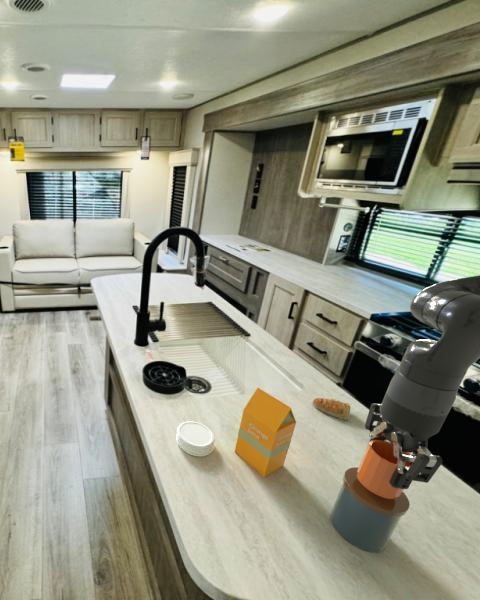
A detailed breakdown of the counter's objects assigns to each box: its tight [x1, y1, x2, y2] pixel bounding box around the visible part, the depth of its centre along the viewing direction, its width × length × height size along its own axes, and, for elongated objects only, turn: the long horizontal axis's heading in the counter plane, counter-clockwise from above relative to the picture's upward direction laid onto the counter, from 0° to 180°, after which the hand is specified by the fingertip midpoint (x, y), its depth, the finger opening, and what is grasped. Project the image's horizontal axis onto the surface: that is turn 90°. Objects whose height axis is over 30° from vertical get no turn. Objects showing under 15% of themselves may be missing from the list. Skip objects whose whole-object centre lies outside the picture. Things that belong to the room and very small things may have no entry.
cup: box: [357, 440, 412, 499], centre depth 59 cm, size 6×6×8 cm
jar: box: [329, 466, 411, 554], centre depth 64 cm, size 10×10×12 cm
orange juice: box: [234, 387, 297, 478], centre depth 79 cm, size 8×9×20 cm
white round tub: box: [175, 420, 216, 457], centre depth 87 cm, size 10×10×4 cm
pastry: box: [312, 397, 351, 421], centre depth 98 cm, size 9×7×4 cm
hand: (384, 469), depth 60 cm, fingers closed on cup, 6 cm apart
